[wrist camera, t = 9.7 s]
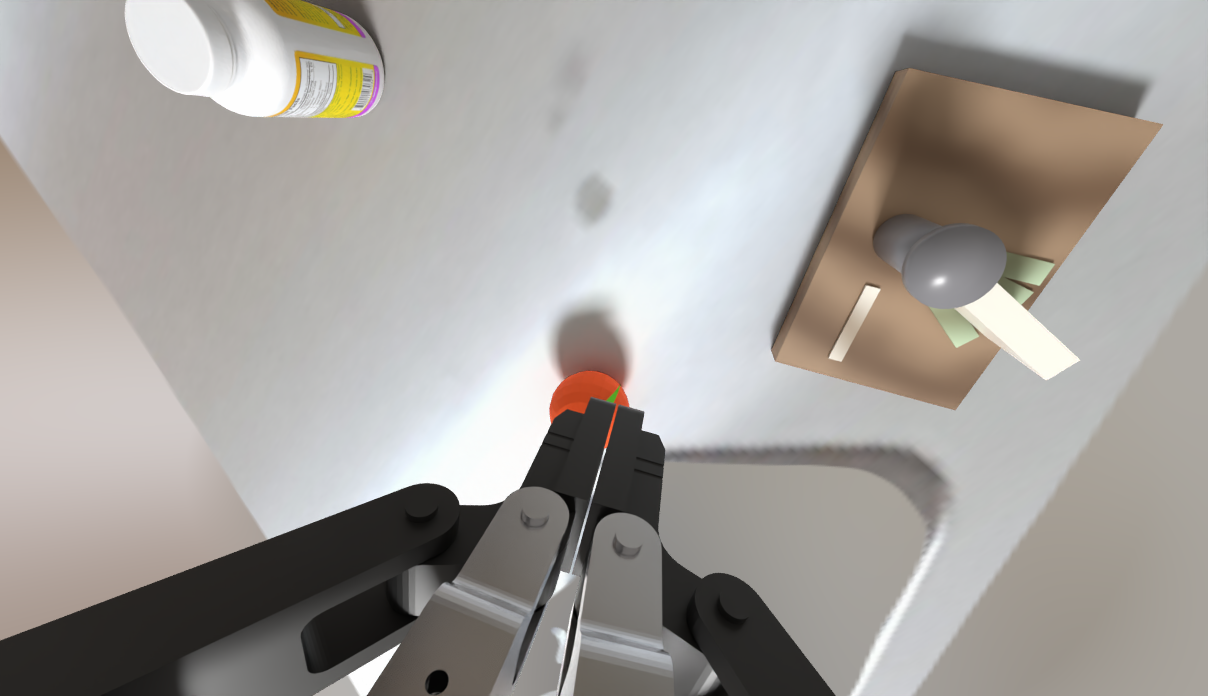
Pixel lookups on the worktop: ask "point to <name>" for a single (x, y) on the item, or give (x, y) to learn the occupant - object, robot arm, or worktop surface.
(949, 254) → the knob
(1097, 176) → the board
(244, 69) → the supplement bottle
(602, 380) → the clementine
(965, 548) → the worktop surface
